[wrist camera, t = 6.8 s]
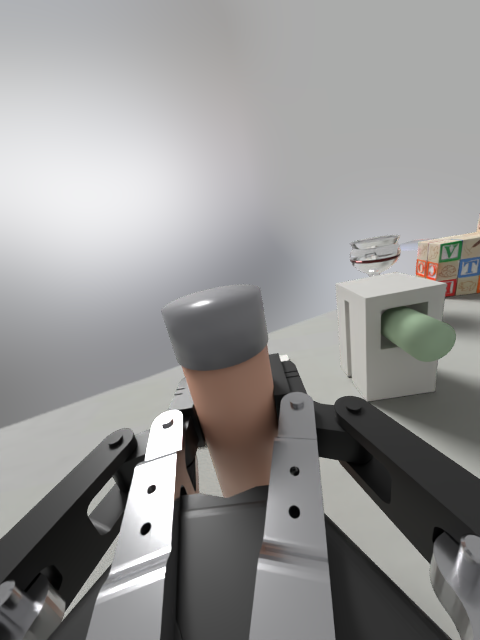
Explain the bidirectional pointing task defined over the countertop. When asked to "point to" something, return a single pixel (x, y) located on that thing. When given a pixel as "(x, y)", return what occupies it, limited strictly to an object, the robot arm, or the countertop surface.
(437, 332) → the button
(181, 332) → the terracotta marker
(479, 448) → the countertop surface
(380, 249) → the wineglass
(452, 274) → the stack of blocks
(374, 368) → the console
